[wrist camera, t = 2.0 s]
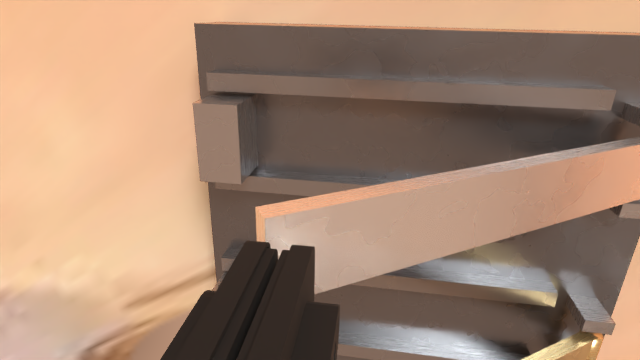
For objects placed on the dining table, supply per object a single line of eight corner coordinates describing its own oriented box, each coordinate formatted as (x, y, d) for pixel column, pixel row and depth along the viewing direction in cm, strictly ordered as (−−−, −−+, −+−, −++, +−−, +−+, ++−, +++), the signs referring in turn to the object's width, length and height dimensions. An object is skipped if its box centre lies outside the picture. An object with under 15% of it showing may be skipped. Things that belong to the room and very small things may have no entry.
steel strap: (651, 132, 21) (679, 138, 20) (633, 187, 22) (658, 196, 21) (253, 203, 12) (267, 221, 11) (257, 289, 13) (269, 312, 12)
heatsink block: (659, 33, 24) (765, 41, 17) (559, 358, 32) (602, 445, 26) (220, 22, 27) (166, 25, 20) (239, 318, 36) (206, 386, 29)
